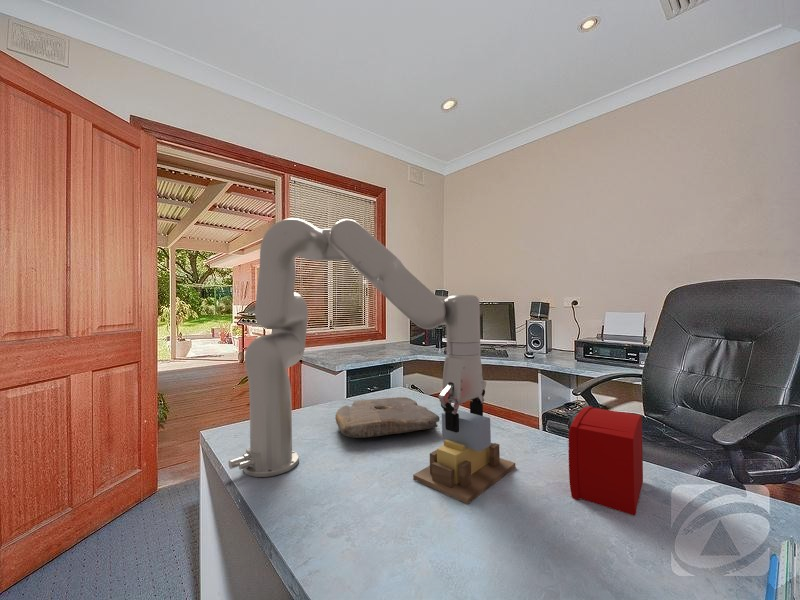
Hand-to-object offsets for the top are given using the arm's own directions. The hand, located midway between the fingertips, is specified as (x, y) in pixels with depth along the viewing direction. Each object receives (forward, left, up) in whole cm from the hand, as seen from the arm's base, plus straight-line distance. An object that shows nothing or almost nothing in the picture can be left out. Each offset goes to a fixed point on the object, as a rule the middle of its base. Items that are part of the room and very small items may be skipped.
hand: (464, 424), depth 79 cm
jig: (0, 0, -11) cm, 11 cm away
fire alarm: (+14, -25, -11) cm, 31 cm away
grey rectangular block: (0, 0, -4) cm, 4 cm away
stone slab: (+8, +37, -11) cm, 40 cm away
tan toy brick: (0, 0, -10) cm, 10 cm away
